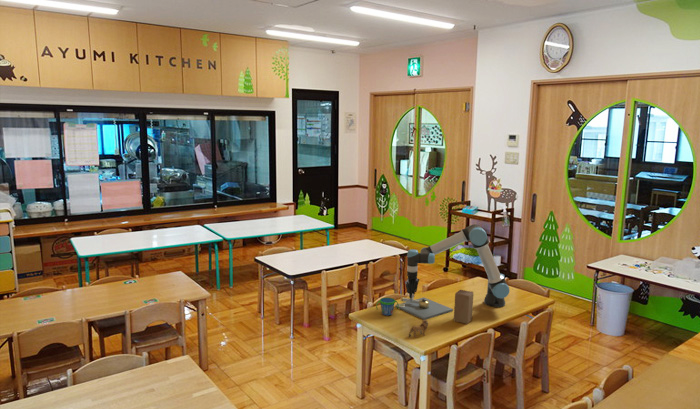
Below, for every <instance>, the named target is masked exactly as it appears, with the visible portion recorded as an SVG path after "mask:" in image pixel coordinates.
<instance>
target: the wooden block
mask: <svg viewBox="0 0 700 409" xmlns="http://www.w3.org/2000/svg"><path fill="white" fill-rule="evenodd" d="M473 303H474V292H473V291H470V290H469V291H468V290H466V289H465V290H464V289H459V290H457V292H455V294H454V308H453V321H454V322H458V323H460V324H461V323H462V324H465V325H468V324H469V323H470V322H471V321H472V320H473V310H474V309H473V308H474V304H473Z"/></svg>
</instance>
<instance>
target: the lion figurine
mask: <svg viewBox="0 0 700 409" xmlns="http://www.w3.org/2000/svg"><path fill="white" fill-rule="evenodd" d="M428 326H429V322H428V319H426V320H423V319H422V321H421V323H420V325H413V326H411V328H410V329H409V333H408V338H410V337H411V336H412V332H413V336H414V338H418V337H417V335H416V334H417V332H419V334H420V335H423V336H426V335H425V333H426V331H427V329H428Z"/></svg>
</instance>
